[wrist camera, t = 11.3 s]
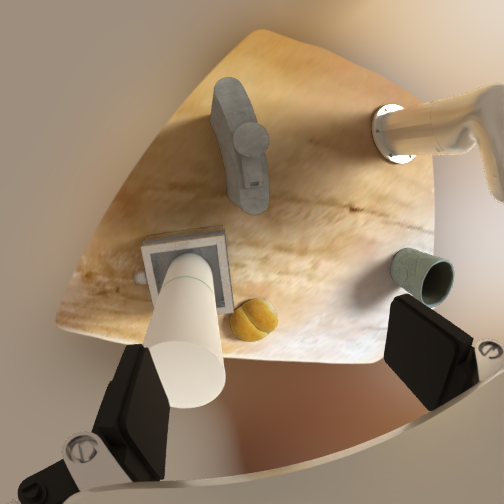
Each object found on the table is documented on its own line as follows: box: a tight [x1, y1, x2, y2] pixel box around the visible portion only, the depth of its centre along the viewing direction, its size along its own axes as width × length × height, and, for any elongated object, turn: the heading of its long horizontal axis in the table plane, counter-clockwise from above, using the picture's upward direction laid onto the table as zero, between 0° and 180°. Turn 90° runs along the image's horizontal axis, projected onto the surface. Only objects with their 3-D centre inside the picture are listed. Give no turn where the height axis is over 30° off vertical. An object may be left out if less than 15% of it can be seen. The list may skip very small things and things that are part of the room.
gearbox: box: [134, 225, 234, 315], centre depth 45 cm, size 16×13×8 cm
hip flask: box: [210, 77, 269, 215], centre depth 36 cm, size 16×4×20 cm, turn 13°
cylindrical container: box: [143, 253, 225, 408], centre depth 32 cm, size 7×7×25 cm
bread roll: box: [230, 298, 278, 342], centre depth 52 cm, size 8×9×4 cm
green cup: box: [391, 248, 454, 308], centre depth 51 cm, size 10×10×12 cm
